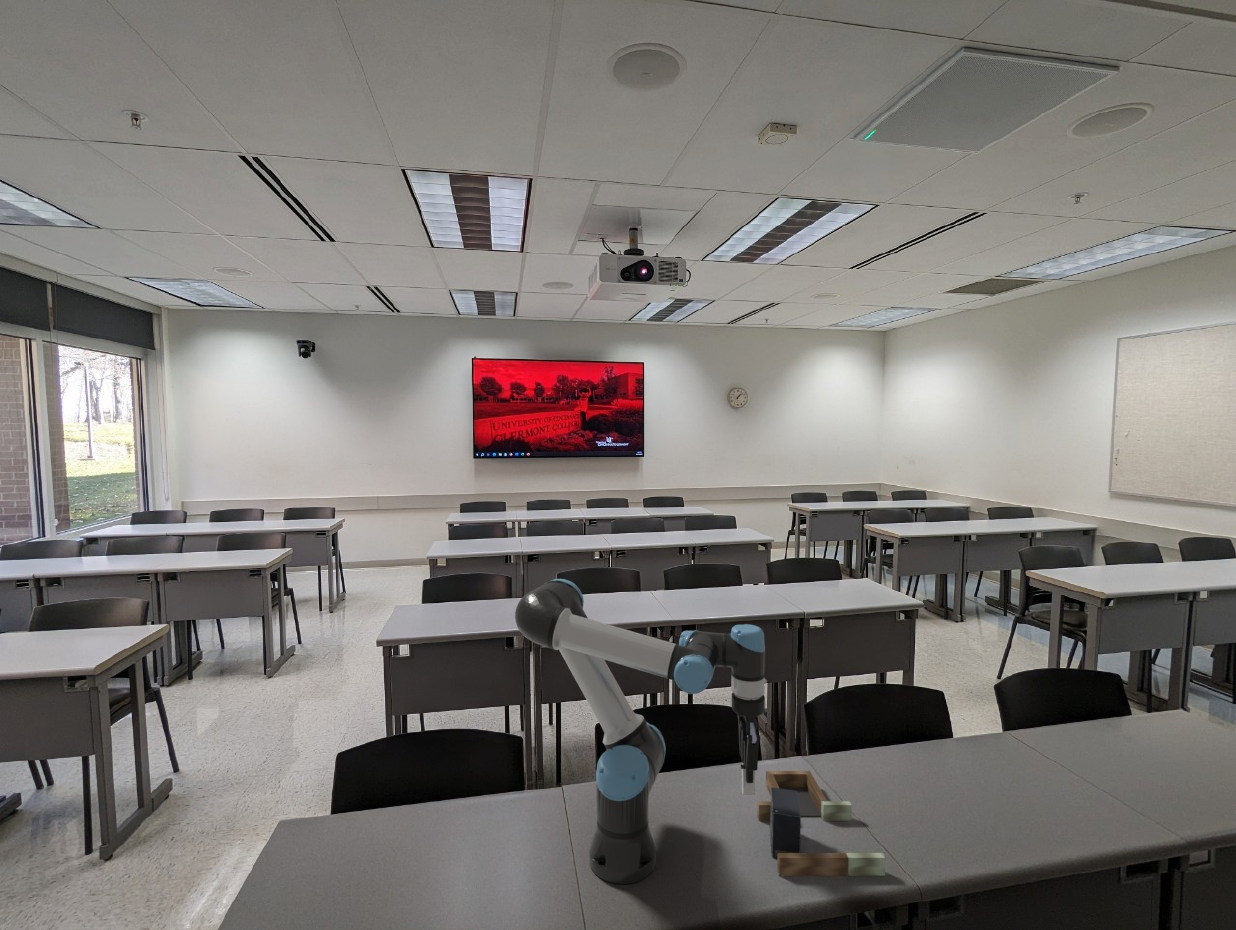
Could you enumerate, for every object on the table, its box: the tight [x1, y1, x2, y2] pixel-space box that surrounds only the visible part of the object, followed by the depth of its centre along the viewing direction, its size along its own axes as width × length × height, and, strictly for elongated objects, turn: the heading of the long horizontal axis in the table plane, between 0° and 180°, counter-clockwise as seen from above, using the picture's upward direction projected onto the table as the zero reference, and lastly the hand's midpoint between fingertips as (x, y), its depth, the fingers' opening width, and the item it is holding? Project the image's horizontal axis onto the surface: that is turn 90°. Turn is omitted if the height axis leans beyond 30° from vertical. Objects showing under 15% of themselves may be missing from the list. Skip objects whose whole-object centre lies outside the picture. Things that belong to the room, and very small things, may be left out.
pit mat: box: [779, 787, 822, 818], centre depth 155 cm, size 9×12×1 cm
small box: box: [769, 787, 802, 859], centre depth 139 cm, size 11×6×10 cm, turn 168°
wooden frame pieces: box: [756, 770, 886, 877], centre depth 146 cm, size 23×34×4 cm
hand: (748, 792), depth 138 cm, fingers closed
